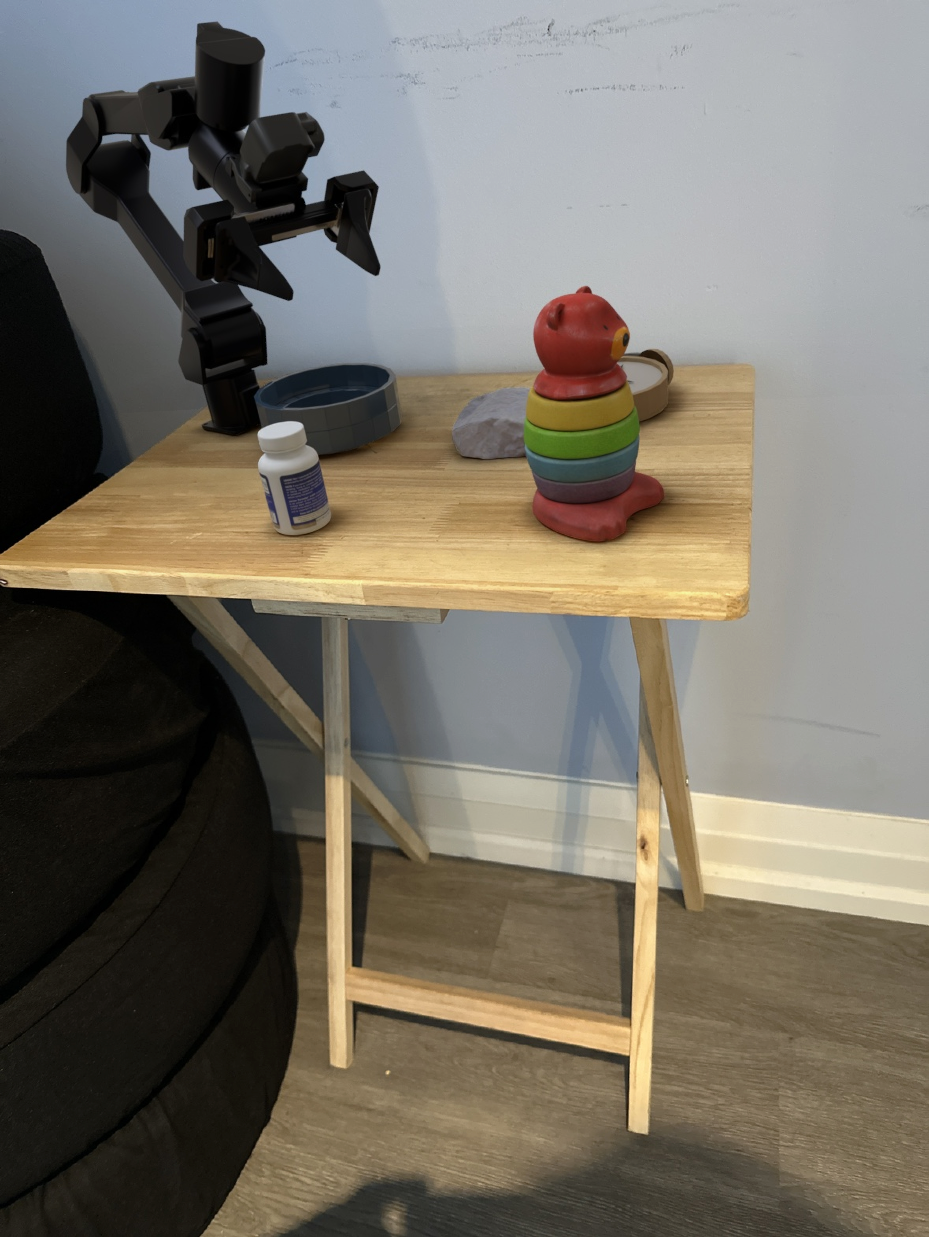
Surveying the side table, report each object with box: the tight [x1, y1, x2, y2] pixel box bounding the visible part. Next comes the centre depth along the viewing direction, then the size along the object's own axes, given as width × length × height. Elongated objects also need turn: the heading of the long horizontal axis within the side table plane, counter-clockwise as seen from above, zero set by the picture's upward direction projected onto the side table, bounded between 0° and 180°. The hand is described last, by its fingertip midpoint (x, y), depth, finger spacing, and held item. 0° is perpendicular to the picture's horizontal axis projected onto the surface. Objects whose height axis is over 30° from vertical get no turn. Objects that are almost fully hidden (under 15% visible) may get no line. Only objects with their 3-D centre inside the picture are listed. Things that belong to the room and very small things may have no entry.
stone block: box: [451, 386, 531, 460], centre depth 95 cm, size 12×5×10 cm
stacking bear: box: [524, 285, 665, 542], centre depth 74 cm, size 11×10×18 cm
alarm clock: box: [617, 348, 674, 422], centre depth 99 cm, size 11×5×15 cm
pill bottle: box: [257, 421, 332, 536], centre depth 81 cm, size 5×5×9 cm
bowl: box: [254, 362, 403, 456], centre depth 101 cm, size 15×15×6 cm
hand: (336, 283), depth 81 cm, fingers open, 9 cm apart
